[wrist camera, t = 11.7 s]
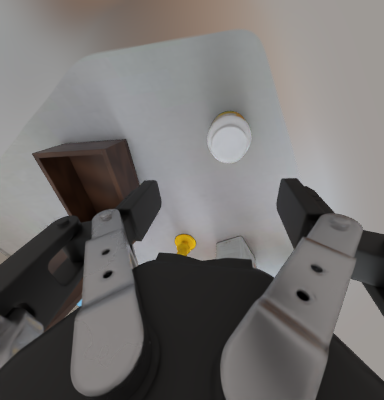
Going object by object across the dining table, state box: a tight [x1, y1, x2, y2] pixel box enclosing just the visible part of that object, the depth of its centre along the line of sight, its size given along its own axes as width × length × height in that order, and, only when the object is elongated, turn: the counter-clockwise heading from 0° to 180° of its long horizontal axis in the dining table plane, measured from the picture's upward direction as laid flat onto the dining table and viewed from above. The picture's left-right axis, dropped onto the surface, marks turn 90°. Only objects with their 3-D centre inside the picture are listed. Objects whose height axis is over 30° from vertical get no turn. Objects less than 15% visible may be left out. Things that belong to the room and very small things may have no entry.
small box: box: [216, 236, 256, 268], centre depth 34 cm, size 8×6×13 cm
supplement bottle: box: [207, 111, 252, 163], centre depth 22 cm, size 5×5×10 cm
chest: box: [32, 139, 140, 223], centre depth 33 cm, size 18×14×6 cm
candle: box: [175, 234, 196, 256], centre depth 35 cm, size 5×5×16 cm
